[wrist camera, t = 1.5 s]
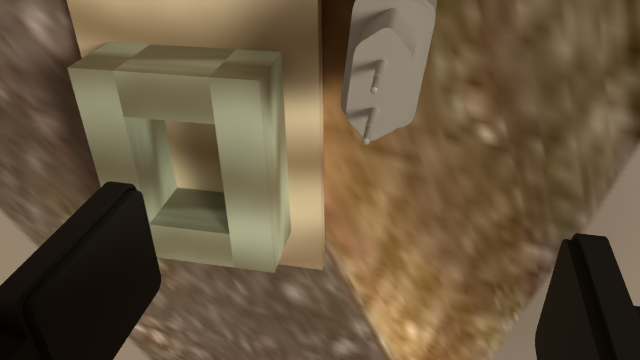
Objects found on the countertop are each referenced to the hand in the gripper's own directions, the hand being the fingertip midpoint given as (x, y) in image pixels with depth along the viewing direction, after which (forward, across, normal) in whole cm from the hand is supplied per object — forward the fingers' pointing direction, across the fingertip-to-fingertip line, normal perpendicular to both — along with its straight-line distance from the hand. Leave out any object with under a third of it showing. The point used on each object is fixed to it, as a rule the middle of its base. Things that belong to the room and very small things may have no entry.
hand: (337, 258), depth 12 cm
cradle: (+19, +11, +7) cm, 23 cm away
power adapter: (+19, 0, -1) cm, 19 cm away
